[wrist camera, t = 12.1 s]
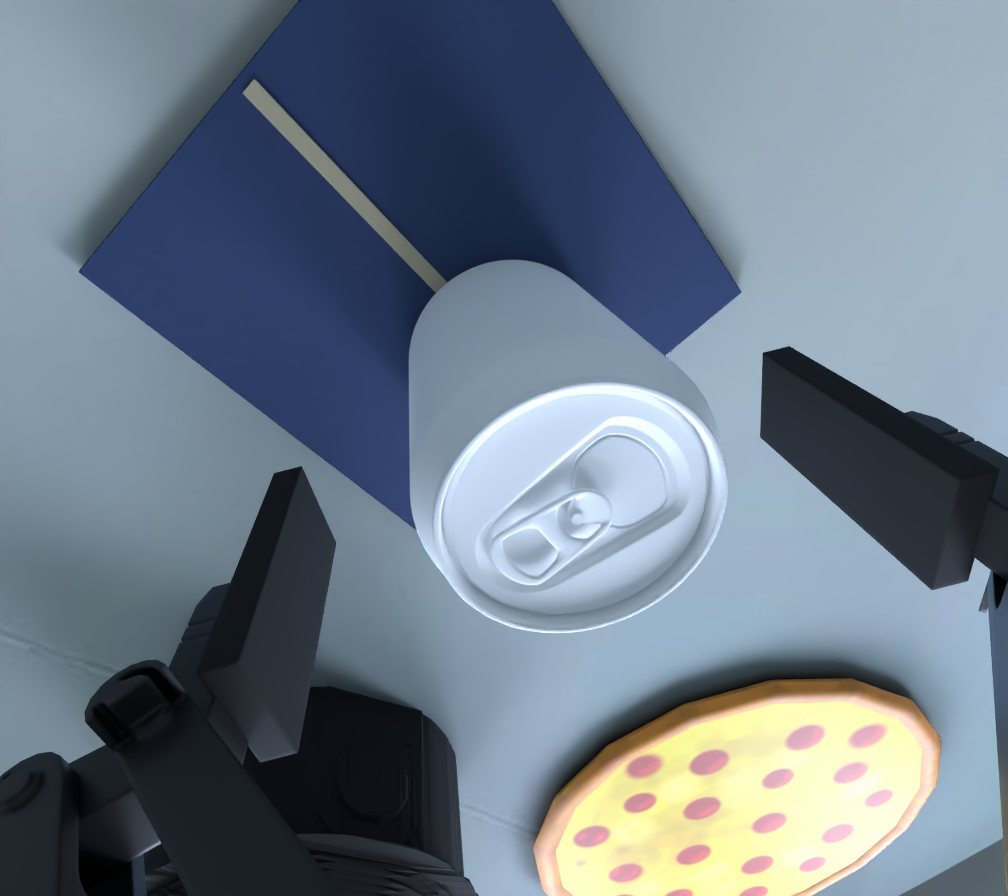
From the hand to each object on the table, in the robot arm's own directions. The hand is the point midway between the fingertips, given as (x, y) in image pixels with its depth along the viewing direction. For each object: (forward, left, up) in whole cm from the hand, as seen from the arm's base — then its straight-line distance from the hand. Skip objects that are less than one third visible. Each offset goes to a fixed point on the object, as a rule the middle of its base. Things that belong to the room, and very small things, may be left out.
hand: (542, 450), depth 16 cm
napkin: (-4, 0, -9) cm, 10 cm away
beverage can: (0, 0, -9) cm, 9 cm away
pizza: (+41, -12, -9) cm, 44 cm away
